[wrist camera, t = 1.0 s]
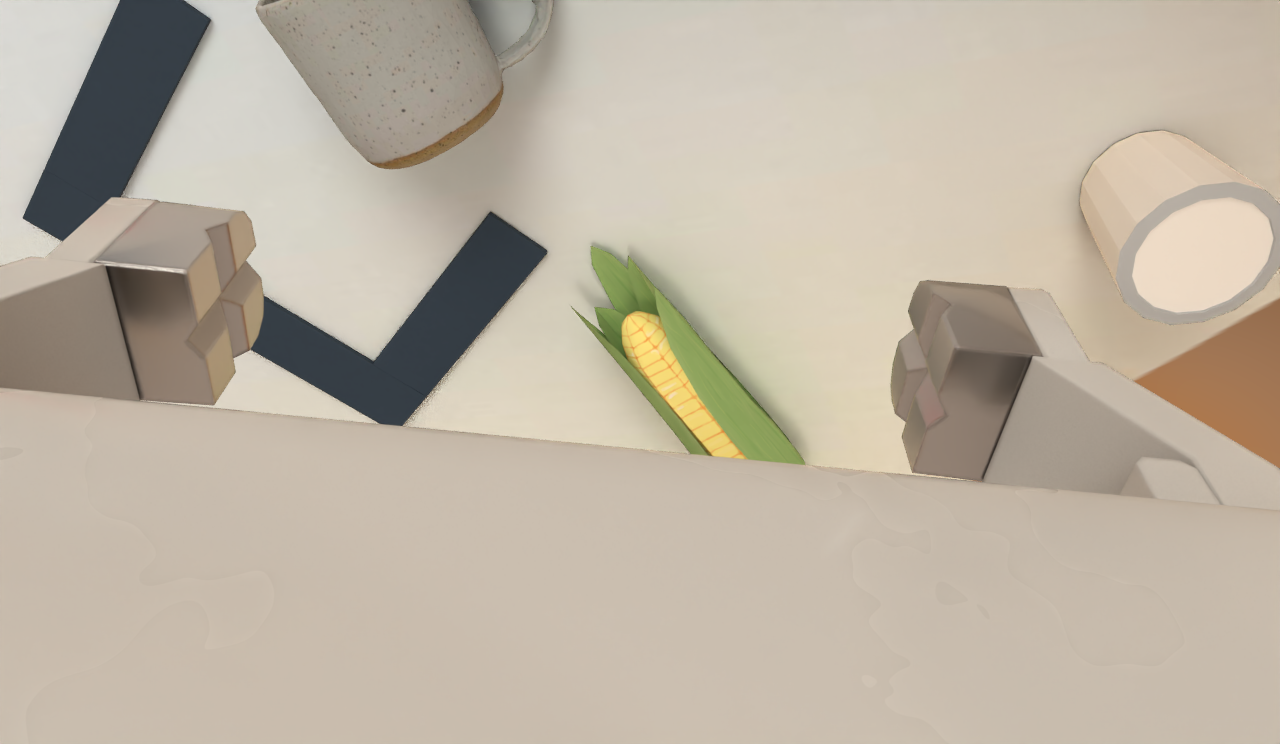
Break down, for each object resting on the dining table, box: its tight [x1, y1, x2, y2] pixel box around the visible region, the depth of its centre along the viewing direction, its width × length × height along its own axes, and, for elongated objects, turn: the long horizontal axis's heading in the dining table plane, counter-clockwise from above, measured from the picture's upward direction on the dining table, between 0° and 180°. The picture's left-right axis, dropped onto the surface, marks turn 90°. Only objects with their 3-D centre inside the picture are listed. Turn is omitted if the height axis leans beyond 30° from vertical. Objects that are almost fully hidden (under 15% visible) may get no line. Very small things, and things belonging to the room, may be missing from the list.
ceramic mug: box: [256, 0, 554, 169], centre depth 40 cm, size 11×8×8 cm
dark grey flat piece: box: [23, 0, 547, 426], centre depth 50 cm, size 16×22×1 cm
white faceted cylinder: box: [1079, 130, 1280, 325], centre depth 44 cm, size 7×7×7 cm
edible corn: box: [572, 246, 805, 465], centre depth 52 cm, size 5×20×5 cm, turn 35°
